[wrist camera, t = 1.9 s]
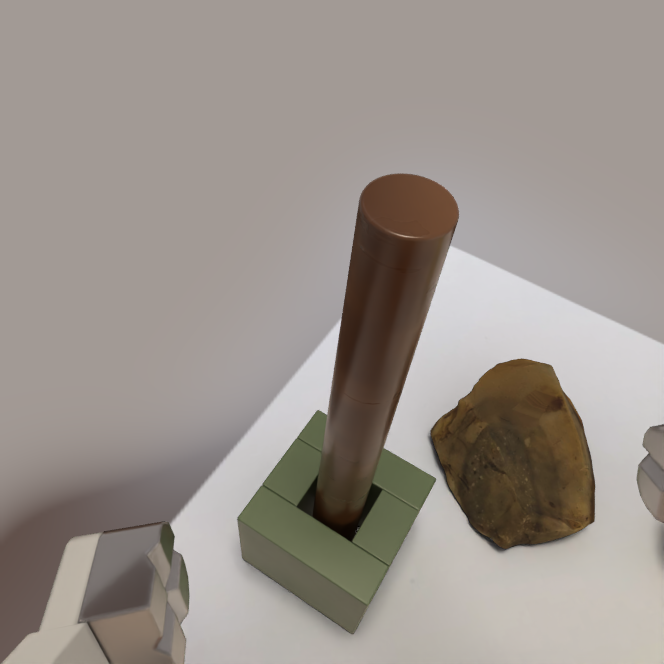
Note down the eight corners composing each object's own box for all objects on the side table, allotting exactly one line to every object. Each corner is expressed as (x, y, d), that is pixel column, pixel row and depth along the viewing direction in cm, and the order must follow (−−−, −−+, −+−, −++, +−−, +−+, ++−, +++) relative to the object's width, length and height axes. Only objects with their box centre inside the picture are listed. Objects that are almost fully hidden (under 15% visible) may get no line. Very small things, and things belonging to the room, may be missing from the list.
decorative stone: (620, 525, 35) (651, 502, 32) (478, 565, 33) (498, 545, 30) (537, 379, 41) (557, 349, 38) (411, 405, 39) (423, 375, 36)
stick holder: (352, 634, 30) (368, 606, 25) (241, 558, 32) (236, 518, 27) (414, 521, 34) (437, 478, 29) (311, 459, 36) (317, 408, 31)
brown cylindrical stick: (306, 558, 32) (355, 230, 13) (312, 515, 34) (363, 165, 15) (349, 564, 32) (460, 245, 13) (353, 521, 34) (459, 178, 15)
